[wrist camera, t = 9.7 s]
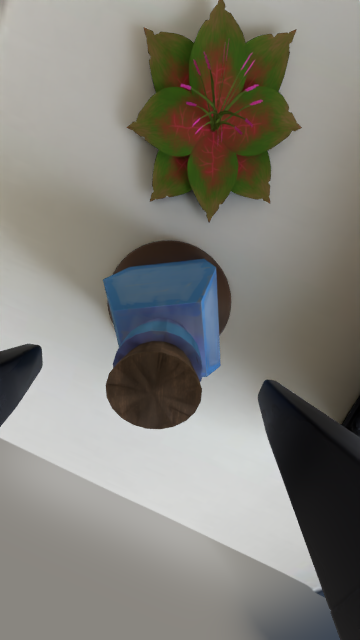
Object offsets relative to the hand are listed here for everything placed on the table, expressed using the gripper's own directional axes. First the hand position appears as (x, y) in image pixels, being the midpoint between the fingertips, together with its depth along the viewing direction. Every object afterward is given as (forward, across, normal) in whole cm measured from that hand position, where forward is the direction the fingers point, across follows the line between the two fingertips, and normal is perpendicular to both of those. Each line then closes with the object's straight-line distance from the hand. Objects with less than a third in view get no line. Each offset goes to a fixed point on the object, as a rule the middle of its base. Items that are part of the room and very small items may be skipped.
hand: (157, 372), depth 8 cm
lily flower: (+11, -1, -12) cm, 17 cm away
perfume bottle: (+11, 0, 0) cm, 11 cm away
